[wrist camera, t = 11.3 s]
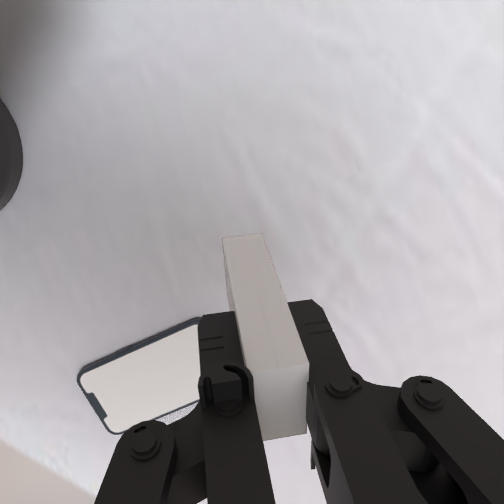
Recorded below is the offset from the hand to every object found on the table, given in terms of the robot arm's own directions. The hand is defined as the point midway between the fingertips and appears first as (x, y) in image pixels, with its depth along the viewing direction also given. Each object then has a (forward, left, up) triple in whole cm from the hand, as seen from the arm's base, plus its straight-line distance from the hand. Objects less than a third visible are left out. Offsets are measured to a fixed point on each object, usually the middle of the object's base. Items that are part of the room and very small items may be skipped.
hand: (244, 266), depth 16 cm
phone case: (-8, -21, -26) cm, 35 cm away
